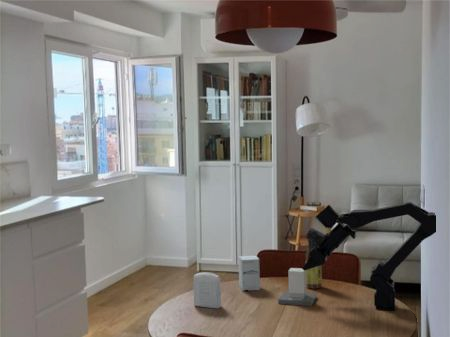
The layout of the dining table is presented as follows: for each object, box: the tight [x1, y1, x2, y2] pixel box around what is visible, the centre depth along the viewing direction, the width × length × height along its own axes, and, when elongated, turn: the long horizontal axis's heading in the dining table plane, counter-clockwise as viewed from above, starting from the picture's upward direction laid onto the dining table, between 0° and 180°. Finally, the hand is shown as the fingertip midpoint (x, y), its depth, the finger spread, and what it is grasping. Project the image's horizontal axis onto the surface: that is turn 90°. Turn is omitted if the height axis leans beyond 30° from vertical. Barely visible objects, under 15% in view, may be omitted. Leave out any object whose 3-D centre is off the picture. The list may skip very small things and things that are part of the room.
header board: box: [278, 291, 317, 307], centre depth 196 cm, size 12×10×3 cm
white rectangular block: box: [287, 267, 307, 299], centre depth 195 cm, size 6×4×10 cm
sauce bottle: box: [305, 239, 323, 290], centre depth 211 cm, size 7×6×20 cm
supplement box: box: [238, 255, 261, 292], centre depth 213 cm, size 7×7×13 cm
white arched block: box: [193, 271, 222, 309], centre depth 192 cm, size 10×4×12 cm, turn 67°
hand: (305, 266), depth 194 cm, fingers open, 9 cm apart
